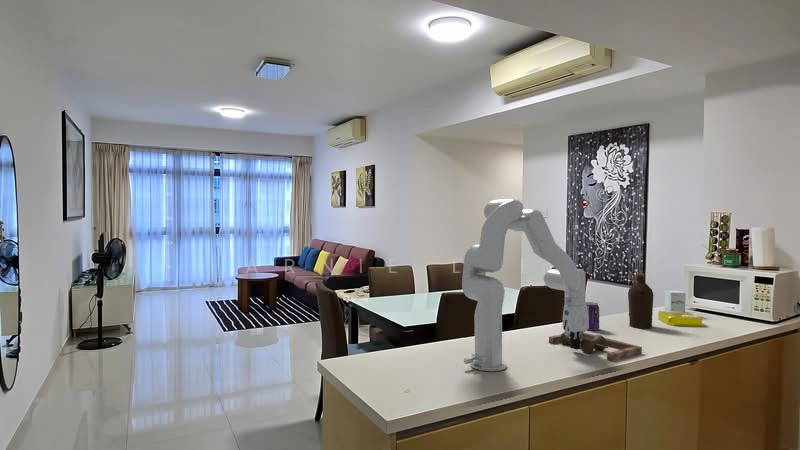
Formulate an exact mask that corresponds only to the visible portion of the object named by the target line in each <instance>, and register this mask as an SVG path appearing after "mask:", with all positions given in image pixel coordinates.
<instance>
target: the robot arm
mask: <svg viewBox="0 0 800 450" xmlns="http://www.w3.org/2000/svg"><path fill="white" fill-rule="evenodd" d="M483 209H484V211H483V213H484V217H485V219H486V220H485V221H484V223H483V225H482V227H481V232H480V239H479V244H473V245H471V246H470V247H469V248H468V249H467V250H466V252H465V255H464V257H463V268H462V279H461V289H462V293H464V295H465V297H466V298H468V299H470V300H473V301H476V302H477V303H476V308H475V310H474V317H473V318H474V352H473V353H471V354H472V355H471V356H470V357H465V358H463V363H464V364H465V365H467V364H470V366H471V368H473V369H475V370H478V371H482V372H483V371H484V372H501V371H504V370H505V369H507V367H508V363H507V362H506V361H505V360H503V305H504V299H505V292H506V291H505V286H504V285H503V283H502V281H500V279H498V278H496V277H494V276H489V275H486V274H487V273H496V272H499V271H500V270H501V268H502V267H503V264H504V262H503V261H504V252H505V242H506V241H505V239H506V236H507V232H508V231H509V230H510V231H514V232H524V234H525V236H526V238H527V241H528V243H529V245H530V248H531V249H532V251H533V253H534V254H535V255H537V257H539V258H541V259H542V260H544V261H546V262H547V263H550V264H551V266H553V267H554V268H552V269H549V270H547V271H546V272H545V274H544V275H543V282H544V284H545V286H547V287H548V288H550V289H552V290H559V291H563V292H564V305H563V311H562V329H563V331H564V332H565V333H564V332H563V333H564V334H565V335H569V338H570V344H569V345H570V348H571V349H573V350H581V348H580V338H581V335H582V333H583V332H584V333H586V332H587V331H589V330H588V328H589V317H588V309H587V305H586V302H587V301H586V300H587V299H586V271H584V269H580V268H577V266H576V263H575V262H574V260H573V259H572V258H571V257H570V256H569V255H568V253H567V252H565V251H564V250H563V248H562V247H560V246H559V245H558V244H557V243H556V241H555V239H554V237H553V235H552V232H551V230H550V228H549V226H548V223H547V221H546V220H545V219H546V218H545V217H544V215H543V213H542V212H541V211H539V210H538V209H535V208H524V204H523V203H522V202H521V201H520V200H519V199H514V198H507V199H494V200H491V201H489V202H488V203H487V204H486V205H484V208H483Z"/></svg>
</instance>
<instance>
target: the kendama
mask: <svg viewBox="0 0 800 450" xmlns="http://www.w3.org/2000/svg"><path fill="white" fill-rule="evenodd" d="M564 333H565V331H563V332H562V333H561V337H560V340H561V342H560V343H561V344H562V345H567V344H569V345H570V338H569V335H565V334H564ZM594 335H595V336H594V337H593V340H588V339H580V350H581V351H582V352H583V353H585V354H589V355H590V354H592V353H593V351H594V349H596V350H599V351H604V350H605V349H609V346H607V342H606V340H605V338H606V337H604V336H603V335H600V334H594Z"/></svg>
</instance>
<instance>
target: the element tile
mask: <svg viewBox="0 0 800 450" xmlns="http://www.w3.org/2000/svg"><path fill="white" fill-rule="evenodd" d="M657 314H658V315H657V317H658V320H659V321H660V322H661V323H663V324H665V325H667V326H671V327H692V328H693V327H694V328H695V327H697V328H699V327H703V318H702V317H700V316H699V315H697V314H693V313H692V312H689V311H685V312H673V311H672V312H670V311H669V312H668V311H665V310H664V311H661V310H660V311H658V313H657Z"/></svg>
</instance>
